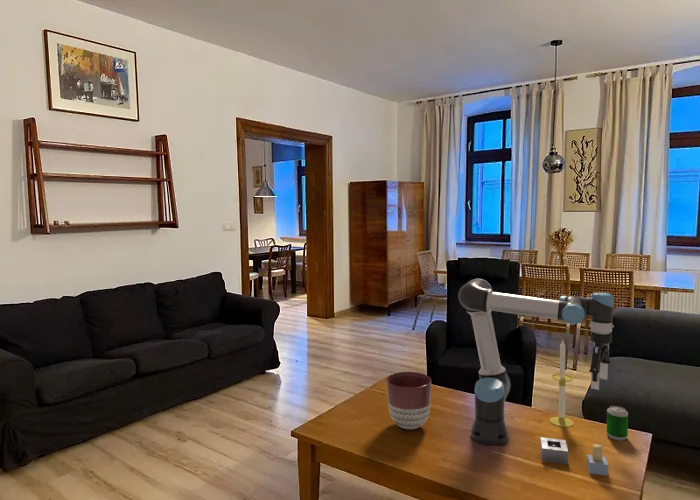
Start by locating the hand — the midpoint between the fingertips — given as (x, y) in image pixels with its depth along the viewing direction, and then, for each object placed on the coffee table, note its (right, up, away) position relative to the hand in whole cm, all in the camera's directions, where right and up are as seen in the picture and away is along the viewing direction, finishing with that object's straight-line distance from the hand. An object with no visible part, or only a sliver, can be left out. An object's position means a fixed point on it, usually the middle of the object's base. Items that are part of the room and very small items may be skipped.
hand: (599, 383), depth 193 cm
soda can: (+10, -24, +5) cm, 26 cm away
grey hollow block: (-22, -26, -9) cm, 35 cm away
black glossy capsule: (-22, -26, -9) cm, 35 cm away
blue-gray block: (-10, -26, -19) cm, 34 cm away
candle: (-6, -23, +20) cm, 31 cm away
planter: (-74, -25, +20) cm, 80 cm away
